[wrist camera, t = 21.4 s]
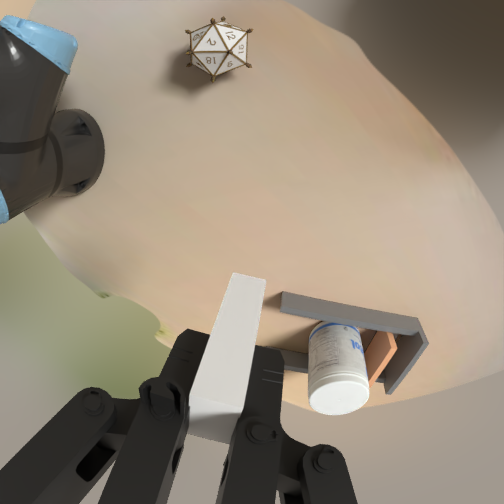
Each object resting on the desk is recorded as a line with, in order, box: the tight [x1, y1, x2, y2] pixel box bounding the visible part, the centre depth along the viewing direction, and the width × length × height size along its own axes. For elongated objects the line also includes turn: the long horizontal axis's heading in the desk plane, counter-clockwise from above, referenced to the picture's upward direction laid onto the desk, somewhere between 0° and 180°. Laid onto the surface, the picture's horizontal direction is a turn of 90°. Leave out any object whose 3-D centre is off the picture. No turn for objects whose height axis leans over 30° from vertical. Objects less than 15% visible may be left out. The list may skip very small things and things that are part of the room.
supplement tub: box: [308, 321, 369, 415], centre depth 45 cm, size 10×10×15 cm
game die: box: [185, 16, 253, 83], centre depth 29 cm, size 9×8×10 cm
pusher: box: [364, 331, 398, 388], centre depth 47 cm, size 4×11×7 cm, turn 169°
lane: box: [266, 291, 429, 395], centre depth 48 cm, size 26×14×7 cm, turn 79°
